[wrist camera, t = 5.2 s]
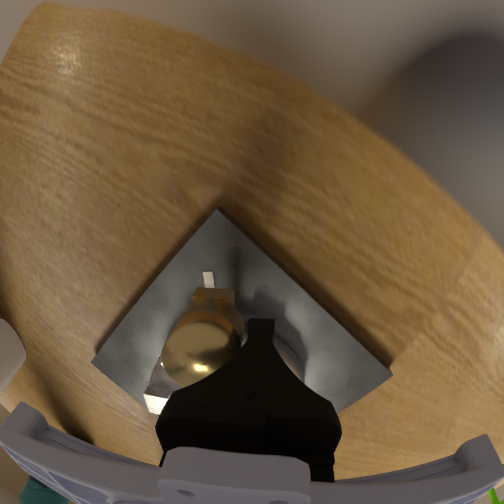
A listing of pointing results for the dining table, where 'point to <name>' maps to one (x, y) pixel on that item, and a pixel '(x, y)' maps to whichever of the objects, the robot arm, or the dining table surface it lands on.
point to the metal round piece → (203, 345)
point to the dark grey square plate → (249, 306)
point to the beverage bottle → (40, 493)
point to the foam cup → (9, 354)
